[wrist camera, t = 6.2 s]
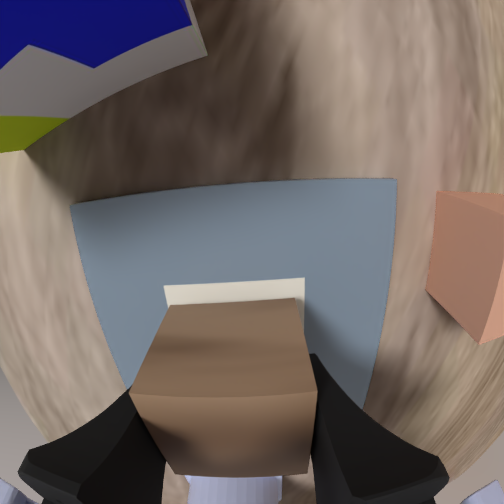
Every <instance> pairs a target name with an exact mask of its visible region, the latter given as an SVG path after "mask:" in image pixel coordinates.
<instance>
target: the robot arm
mask: <svg viewBox="0 0 504 504" xmlns="http://www.w3.org/2000/svg"><path fill="white" fill-rule="evenodd" d="M309 357H310V361H311V365H312V369H313V373H314V378H315V382H316V386H317V391H318V392H317V402H316V412H315V420H314V429H313V437H312V445H311V452H310V454H311V459H312V464H313V472H314V481H315V491H316V501H317V504H436V503H435V500H434V496H435V495H436V494H437V493H438V492H439V491H440V490H442V488H444V487H445V485H446V484H447V483H448V481H449V475H448V473H447V471H446V469H445V467H444V465H443V463H442V462H441V460H440V459H439V457H438V456H435V455H433V454H431V453H428V452H426V451H423V450H421V449H419V448H417V447H415V446H413V445H411V444H409V443H407V442H405V441H404V440H402V439H400V438H399V437H397V436H396V435H394V434H393V433H391V432H390V431H388V430H387V429H385V428H384V427H382V426H381V425H380V424H378V423H377V422H376V421H374V420H373V419H372V418H371V417H370V416H368V415H367V414H366V413H365V412H364V411H363V410H362V409H361V408H360V407H359V406H358V405H356V404H355V402H354V401H353V400H352V399H351V398H350V397H349V396H348V395H347V394H346V393H345V392H344V391H343V390H342V388H341V387H340V386H339V385H338V384H337V382H336V381H335V380H334V379H333V377H332V376H331V375H330V373H329V372H328V371H327V369H326V368H325V367H324V365H323V364H322V362H321V361H320V359H319V357H318V356H317V355H316V354H315V353H312V354H309ZM131 387H132V385H131V386H130V387H129V388H128V389H127V390H126V392H124V393H123V394H122V395H121V396H120V397H119V398H118V399H117V400H116V401H115V402H114V403H113V404H112V405H110V406H109V407H108V408H107V409H106V410H104V411H103V412H102V413H101V414H99V415H98V416H97V417H95V418H94V419H92V420H91V421H89V422H88V423H86V424H85V425H83V426H81V427H80V428H78V429H77V430H75V431H73V432H71V433H69V434H68V435H66V436H64V437H62V438H59V439H57V440H55V441H53V442H50V443H48V444H45V445H42V446H39V447H36V448H33V449H30V450H29V451H28V453H27V455H26V456H25V458H24V460H23V462H22V464H21V466H20V468H19V470H18V474H19V477H20V478H21V479H22V480H23V481H24V482H25V483H26V484H27V485H29V486H30V487H31V488H32V489H33V490H35V491H36V492H37V493H38V494H39V495H41V496H42V497H43V498H44V499H43V502H42V504H161V502H162V489H163V479H164V472H165V464H166V459H165V458H164V456H163V454H162V453H161V451H160V450H159V448H158V446H157V445H156V443H155V441H154V440H153V438H152V436H151V434H150V433H149V431H148V429H147V427H146V426H145V424H144V422H143V420H142V418H141V416H140V414H139V413H138V411H137V409H136V407H135V405H134V403H133V401H132V399H131V397H130V395H129V391H130V389H131ZM184 476H185V477H186V479H187V480H188V482H189V484H190V488H189V495H188V502H187V504H278V501H280V500H281V499H282V476H273V477H249V478H227V477H203V476H189V475H184ZM0 504H39V503H37V502H35V501H33V500H31V499H29V498H27V497H26V495H24V494H23V493H22V492H21V491H19V490H18V489H17V488H15V487H13V486H12V485H11V484H9V483H7V482H6V481H4V480H3V479H1V478H0ZM460 504H504V493H503V490H502V488H501V486H500V484H499V482H498V480H494V481H493V482H491V483H489V484H488V485H486V486H484V487H483V488H481V489H479V490H477V491H476V492H474V493H473V494H471V495H470V496H468V497H467V498H466V499H464V500H463V501H462V502H461V503H460Z"/></svg>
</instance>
